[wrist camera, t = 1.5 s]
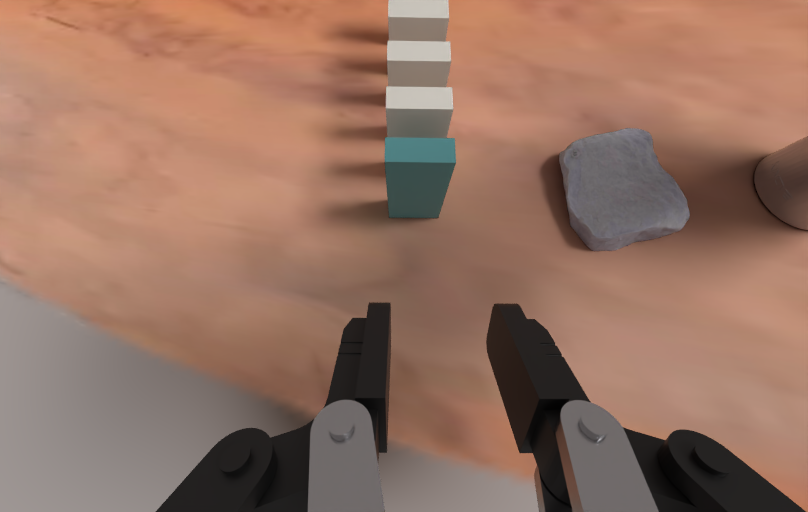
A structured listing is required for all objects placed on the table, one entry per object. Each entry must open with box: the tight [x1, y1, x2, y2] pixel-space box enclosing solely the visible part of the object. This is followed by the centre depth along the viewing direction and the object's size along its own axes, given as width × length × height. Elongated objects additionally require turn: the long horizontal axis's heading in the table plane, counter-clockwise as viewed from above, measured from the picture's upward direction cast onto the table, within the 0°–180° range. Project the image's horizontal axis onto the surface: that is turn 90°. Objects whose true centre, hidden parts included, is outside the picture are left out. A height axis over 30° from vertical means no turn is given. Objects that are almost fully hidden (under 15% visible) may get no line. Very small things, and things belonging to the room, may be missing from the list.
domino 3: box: [386, 86, 453, 138], centre depth 28 cm, size 2×5×10 cm, turn 90°
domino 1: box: [388, 0, 449, 42], centre depth 30 cm, size 2×5×10 cm, turn 90°
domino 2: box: [387, 41, 451, 87], centre depth 29 cm, size 2×5×10 cm, turn 90°
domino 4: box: [385, 137, 456, 218], centre depth 26 cm, size 2×5×10 cm, turn 90°
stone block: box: [559, 128, 690, 251], centre depth 31 cm, size 12×5×10 cm
